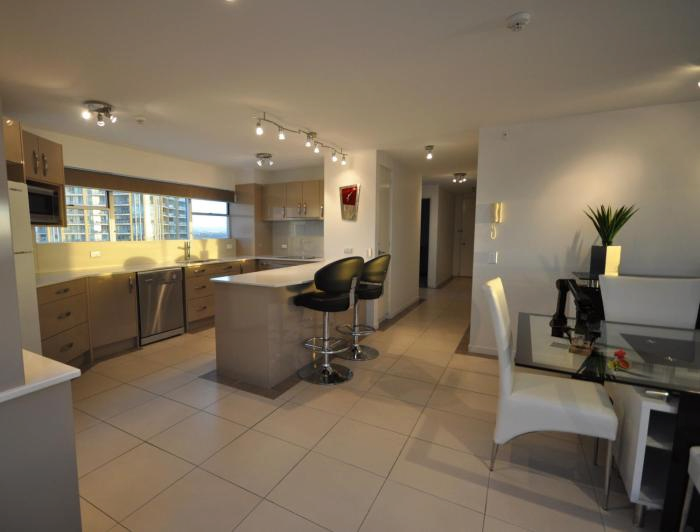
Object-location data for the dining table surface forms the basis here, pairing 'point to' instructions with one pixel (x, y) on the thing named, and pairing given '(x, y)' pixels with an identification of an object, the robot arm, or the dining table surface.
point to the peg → (580, 341)
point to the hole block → (575, 350)
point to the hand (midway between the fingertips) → (580, 345)
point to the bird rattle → (625, 362)
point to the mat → (560, 345)
